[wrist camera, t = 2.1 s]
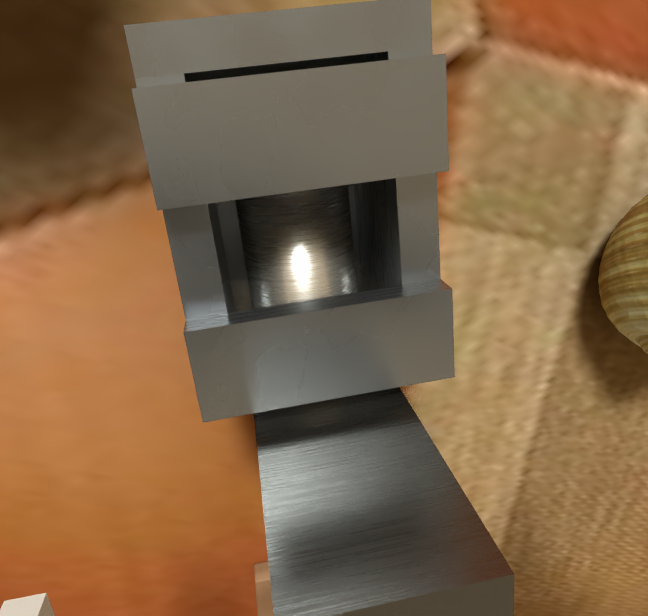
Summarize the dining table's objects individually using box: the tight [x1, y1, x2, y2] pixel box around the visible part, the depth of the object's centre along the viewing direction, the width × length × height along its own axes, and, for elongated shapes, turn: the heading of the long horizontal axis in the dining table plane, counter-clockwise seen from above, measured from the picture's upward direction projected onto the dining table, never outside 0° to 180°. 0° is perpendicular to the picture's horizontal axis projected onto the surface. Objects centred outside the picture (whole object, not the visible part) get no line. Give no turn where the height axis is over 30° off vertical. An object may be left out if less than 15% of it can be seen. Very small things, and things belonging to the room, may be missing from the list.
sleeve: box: [124, 0, 455, 422], centre depth 16 cm, size 9×6×7 cm
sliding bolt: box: [235, 185, 514, 616], centre depth 15 cm, size 16×4×12 cm, turn 6°
